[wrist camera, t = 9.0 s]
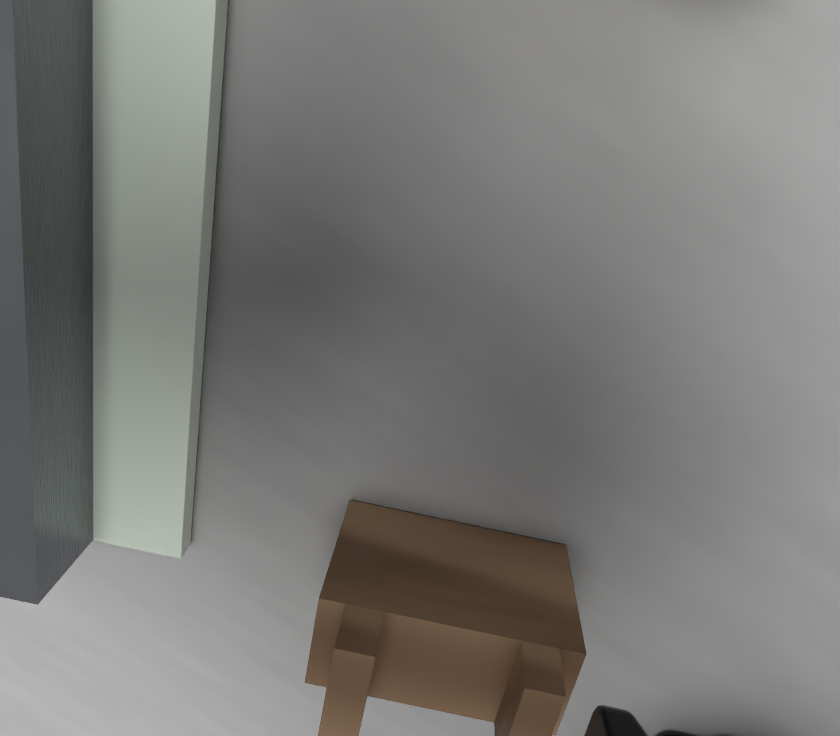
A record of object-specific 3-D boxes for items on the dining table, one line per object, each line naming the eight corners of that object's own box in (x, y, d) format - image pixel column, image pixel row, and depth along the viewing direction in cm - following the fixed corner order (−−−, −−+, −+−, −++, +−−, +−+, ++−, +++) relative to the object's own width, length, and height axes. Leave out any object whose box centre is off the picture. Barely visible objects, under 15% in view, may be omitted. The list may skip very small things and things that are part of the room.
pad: (190, 543, 23) (180, 558, 22) (-73, 488, 23) (-91, 501, 22) (253, -365, 14) (240, -391, 13) (-181, -455, 14) (-218, -485, 13)
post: (541, 616, 23) (561, 787, 17) (336, 573, 23) (290, 730, 17) (565, 545, 22) (595, 702, 16) (350, 499, 22) (305, 642, 16)
